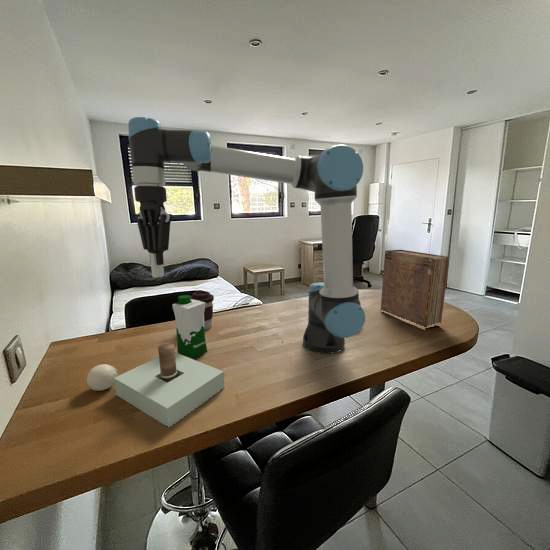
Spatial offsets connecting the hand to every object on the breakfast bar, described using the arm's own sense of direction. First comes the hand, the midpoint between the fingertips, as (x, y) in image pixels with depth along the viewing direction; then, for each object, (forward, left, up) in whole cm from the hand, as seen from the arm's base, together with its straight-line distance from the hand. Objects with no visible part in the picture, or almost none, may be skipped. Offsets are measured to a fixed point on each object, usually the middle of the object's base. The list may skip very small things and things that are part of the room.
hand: (158, 276), depth 79 cm
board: (-7, +4, -30) cm, 31 cm away
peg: (-7, +4, -30) cm, 31 cm away
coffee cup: (+19, -32, -31) cm, 48 cm away
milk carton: (+5, -14, -31) cm, 34 cm away
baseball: (+10, +13, -31) cm, 35 cm away
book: (-52, -89, -31) cm, 108 cm away
